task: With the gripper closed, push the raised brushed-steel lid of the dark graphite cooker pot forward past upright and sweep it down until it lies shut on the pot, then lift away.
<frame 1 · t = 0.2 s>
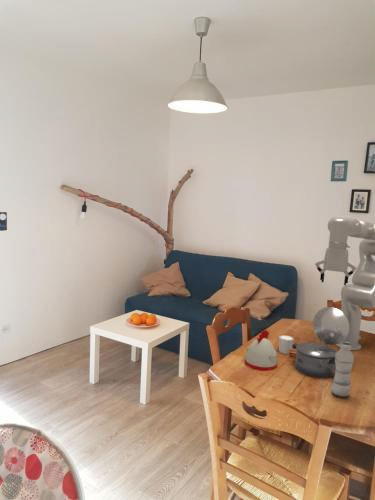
hand: (333, 283, 174), 35 cm above the table, tool pointing down, fingers open, 9 cm apart
cooker lid: (331, 325, 170), point 17 cm above the table, hinge at 100.0°
plastic bottle: (339, 395, 144), on the table
kitchen timer: (260, 364, 168), on the table
cooker pot: (314, 369, 165), on the table
white cylinder: (285, 352, 183), on the table
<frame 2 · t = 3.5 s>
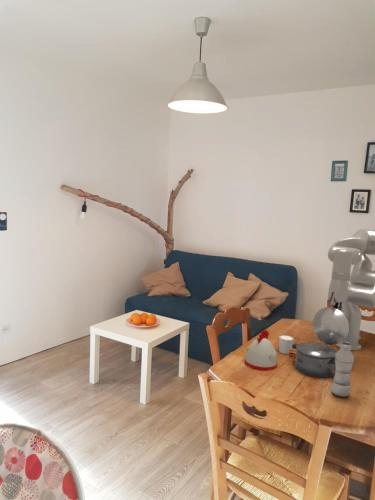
hand: (336, 316, 172), 21 cm above the table, tool pointing down, fingers closed
cooker lid: (331, 325, 170), point 17 cm above the table, hinge at 98.1°, touching gripper
everything else where it was.
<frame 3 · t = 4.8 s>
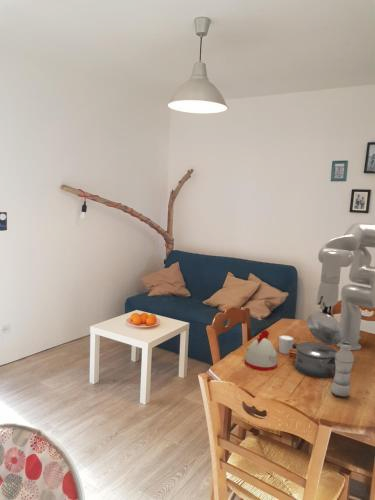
hand: (326, 320, 166), 21 cm above the table, tool pointing down, fingers closed
cooker lid: (325, 327, 167), point 18 cm above the table, hinge at 66.5°, touching gripper
everything else where it was.
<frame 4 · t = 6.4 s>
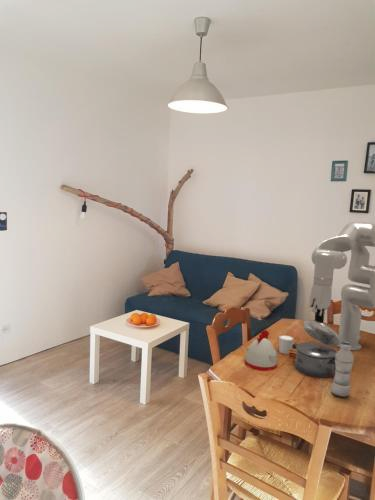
hand: (318, 323, 162), 20 cm above the table, tool pointing down, fingers closed
cooker lid: (322, 331, 165), point 16 cm above the table, hinge at 46.2°, touching gripper
everything else where it was.
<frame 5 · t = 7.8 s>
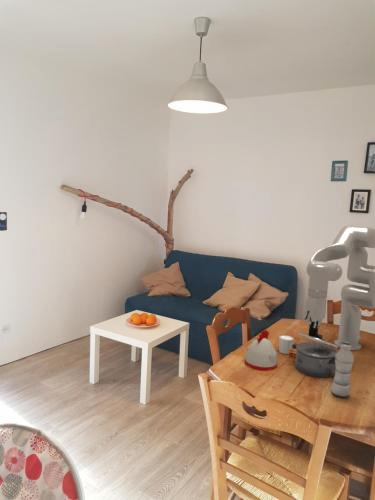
hand: (312, 336, 160), 16 cm above the table, tool pointing down, fingers closed
cooker lid: (318, 338, 164), point 14 cm above the table, hinge at 21.9°, touching gripper
everything else where it was.
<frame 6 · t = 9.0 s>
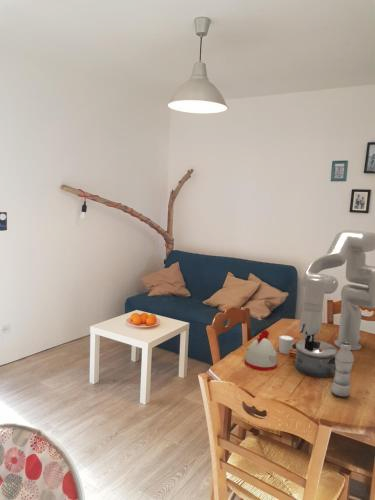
hand: (308, 349, 160), 10 cm above the table, tool pointing down, fingers closed
cooker lid: (316, 345, 163), point 11 cm above the table, hinge at 0.3°, touching gripper
everything else where it was.
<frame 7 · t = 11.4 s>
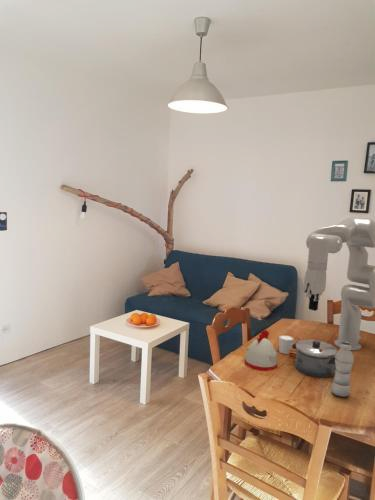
hand: (313, 309, 158), 27 cm above the table, tool pointing down, fingers closed
cooker lid: (316, 345, 163), point 11 cm above the table, hinge at 0.0°, touching cooker pot
everything else where it was.
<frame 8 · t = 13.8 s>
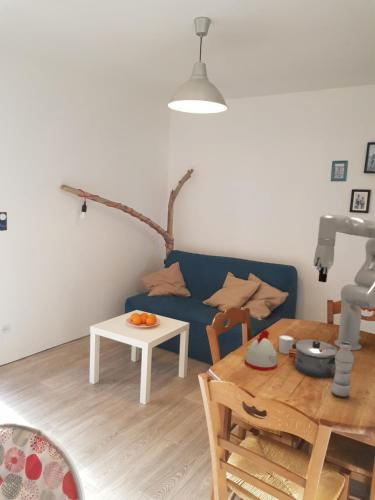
hand: (322, 281, 177), 35 cm above the table, tool pointing down, fingers closed
nothing on the table moved.
at the end: cooker lid at +0° (first picture: +100°) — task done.
